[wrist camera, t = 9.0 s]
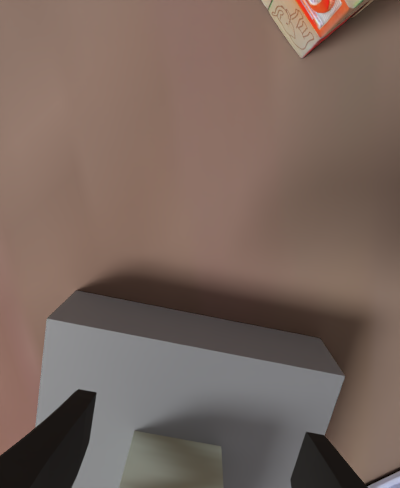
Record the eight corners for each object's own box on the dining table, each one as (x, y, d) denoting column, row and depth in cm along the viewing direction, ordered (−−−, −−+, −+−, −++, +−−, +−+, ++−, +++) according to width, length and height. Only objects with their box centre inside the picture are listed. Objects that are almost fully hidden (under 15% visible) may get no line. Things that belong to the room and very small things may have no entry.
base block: (320, 338, 22) (345, 376, 18) (260, 525, 25) (270, 590, 21) (76, 290, 21) (46, 318, 17) (51, 488, 25) (22, 548, 21)
